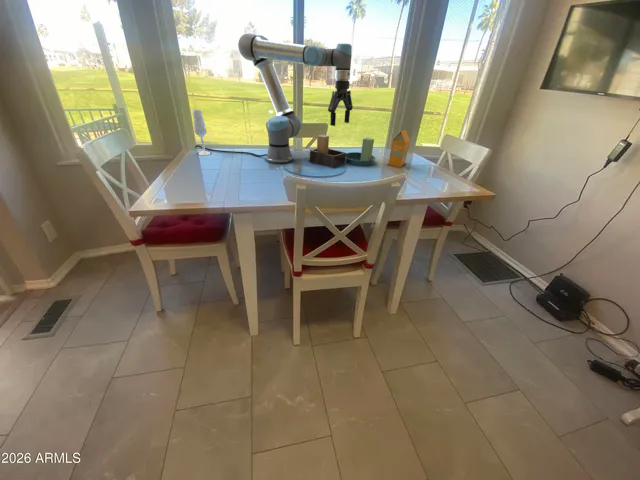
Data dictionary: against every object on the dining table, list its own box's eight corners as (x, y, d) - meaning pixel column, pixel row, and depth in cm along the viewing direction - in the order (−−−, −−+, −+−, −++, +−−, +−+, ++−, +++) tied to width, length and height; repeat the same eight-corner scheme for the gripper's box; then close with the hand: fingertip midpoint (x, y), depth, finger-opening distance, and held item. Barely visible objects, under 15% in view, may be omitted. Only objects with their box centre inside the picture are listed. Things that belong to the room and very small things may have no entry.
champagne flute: (208, 155, 163) (200, 111, 150) (196, 154, 163) (188, 110, 150) (212, 152, 168) (205, 109, 155) (201, 151, 168) (193, 109, 155)
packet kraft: (316, 159, 164) (317, 135, 156) (321, 158, 167) (322, 134, 159) (323, 161, 161) (324, 137, 154) (327, 160, 164) (329, 136, 157)
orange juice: (404, 164, 167) (412, 130, 156) (400, 167, 161) (407, 132, 150) (392, 161, 170) (399, 128, 160) (387, 165, 164) (394, 130, 153)
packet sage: (359, 162, 163) (363, 138, 156) (363, 161, 166) (366, 137, 159) (367, 164, 161) (370, 140, 153) (370, 163, 164) (374, 139, 156)
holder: (309, 161, 163) (310, 150, 159) (321, 157, 171) (322, 146, 167) (333, 168, 154) (334, 156, 150) (344, 163, 162) (345, 152, 158)
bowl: (337, 162, 164) (337, 156, 162) (353, 156, 177) (354, 150, 175) (364, 169, 155) (365, 163, 153) (379, 162, 168) (380, 156, 166)
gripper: (334, 80, 131) (332, 127, 142) (361, 80, 147) (357, 122, 159) (322, 80, 135) (320, 125, 146) (349, 79, 151) (346, 120, 163)
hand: (339, 124), depth 152 cm, fingers open, 13 cm apart
